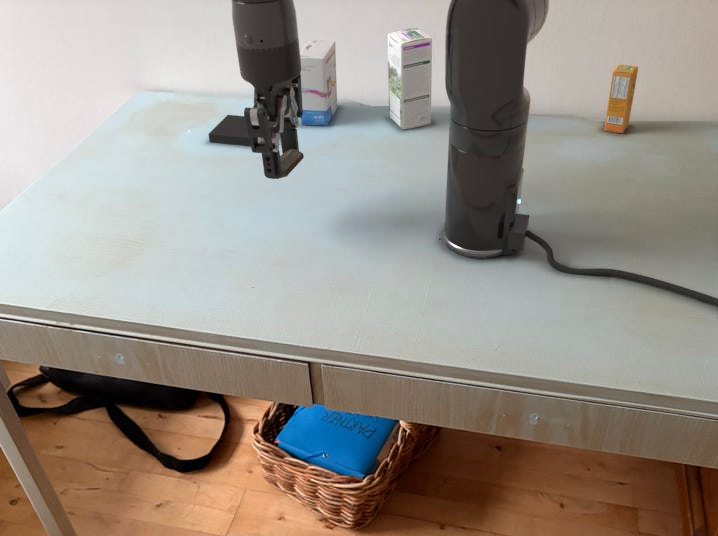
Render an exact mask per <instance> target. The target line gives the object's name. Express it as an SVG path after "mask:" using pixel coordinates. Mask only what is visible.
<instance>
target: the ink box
mask: <svg viewBox="0 0 718 536" xmlns="http://www.w3.org/2000/svg"><path fill="white" fill-rule="evenodd" d="M336 53H337V52H336V41H330V40H329V41H328V40H327V41H326V40H318V39H309V40H307V41H306V43H305V44H304V45H303V47H302V48H301V49H300V59H301V72H300V73H301V89H302V108H303V115H302V118H300V124H301V125H302V126H303V125H308V126H324V127H325V126H326V127H327V126H328V125H329V123H330V121H331V119H332V118H333V116H334V114H335V113H336V110H337V108H338V83H337V81H338V80H337V55H336Z"/></svg>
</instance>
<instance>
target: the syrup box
mask: <svg viewBox="0 0 718 536" xmlns="http://www.w3.org/2000/svg"><path fill="white" fill-rule="evenodd" d="M432 68H433V37H431V36H430V35H428V34H426V33H425V32H424V31H422V30H420V29H419V28H417V27H416V28H415V27H413V28H406V29H405V28H404V29H401V30H396V31H393V32H388V33H387V70H388V71H387V73H388V74H387V75H388V76H387V79H388V81H387V82H388V83H387V84H388V118H389V119H390V120H391V121H392V122H393V123H394V124H395V125H396V126H397V127H398V128H399V129H401V130H409V129H415V128H418V127H424V126H427V125H431V123H432V82H433V81H432V79H433V78H432V77H433V76H432V75H433V69H432Z"/></svg>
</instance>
